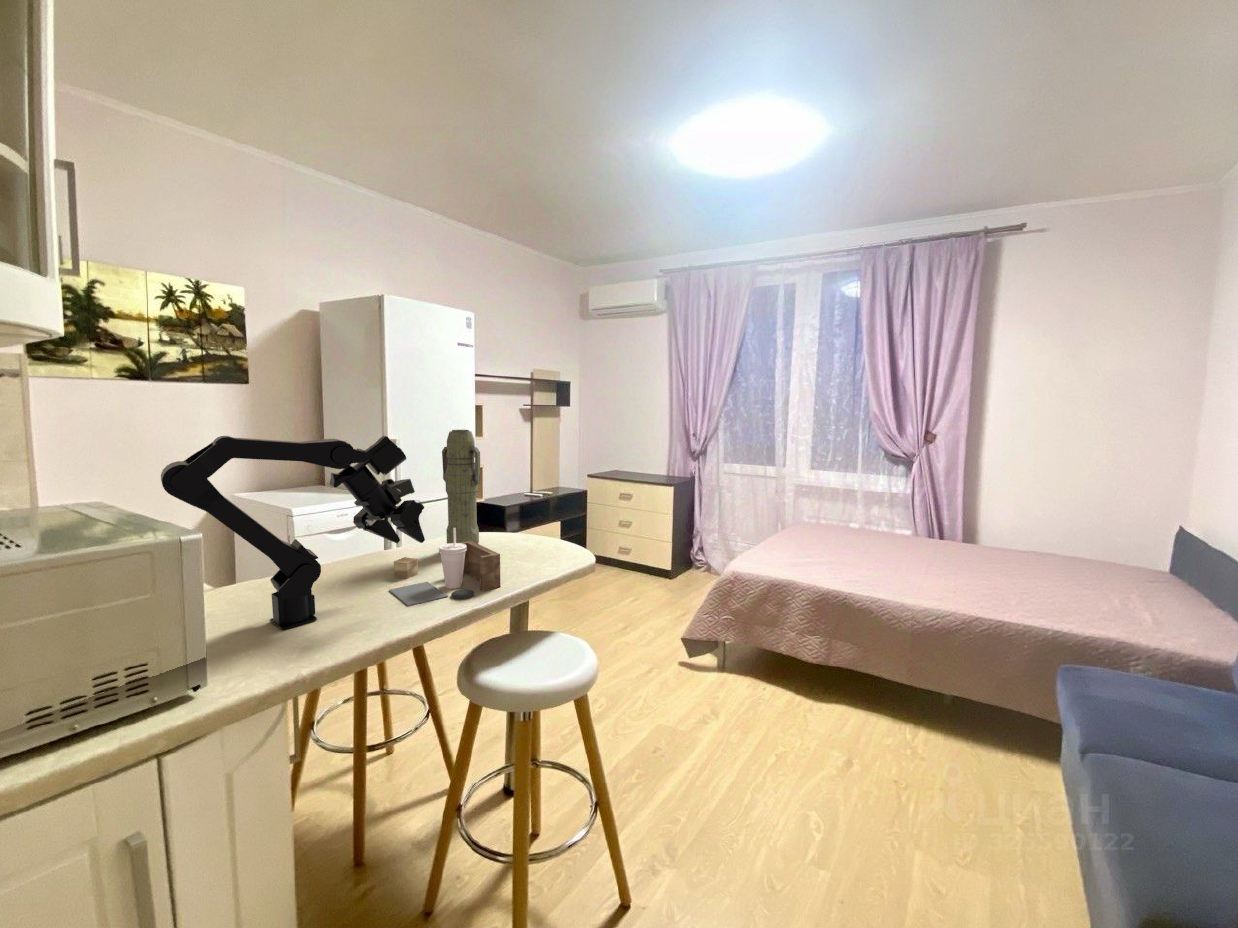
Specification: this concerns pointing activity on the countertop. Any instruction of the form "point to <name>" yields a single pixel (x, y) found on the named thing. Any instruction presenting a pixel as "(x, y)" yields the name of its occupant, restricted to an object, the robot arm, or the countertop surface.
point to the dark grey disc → (462, 594)
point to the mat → (418, 593)
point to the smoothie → (453, 562)
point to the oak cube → (405, 567)
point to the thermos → (461, 485)
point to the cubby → (482, 565)
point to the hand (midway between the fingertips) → (410, 541)
